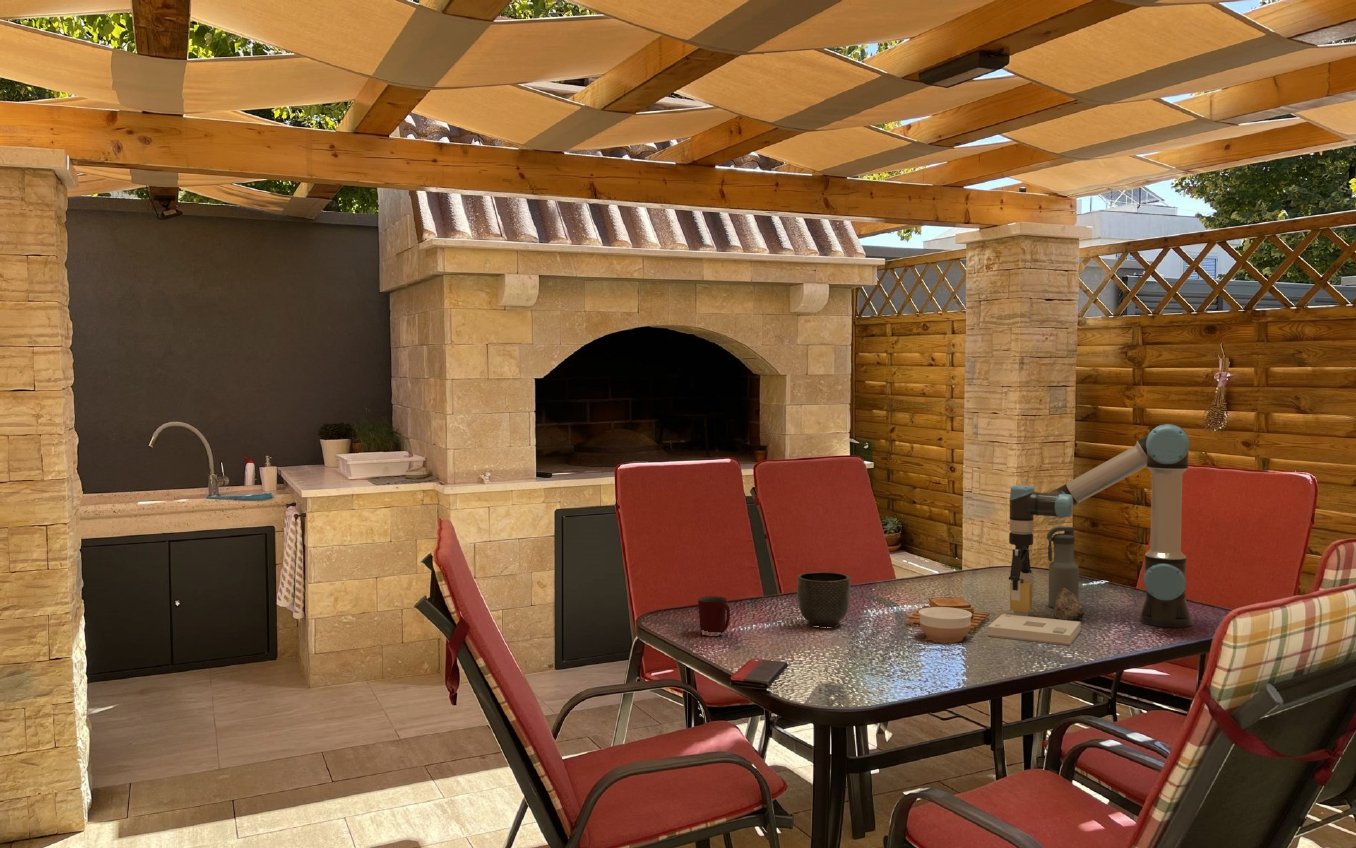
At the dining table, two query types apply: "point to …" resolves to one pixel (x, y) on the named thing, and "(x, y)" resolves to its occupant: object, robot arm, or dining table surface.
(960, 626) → the bowl
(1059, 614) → the rock
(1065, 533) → the water bottle
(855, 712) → the dining table surface
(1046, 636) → the socket plate
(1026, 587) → the plug
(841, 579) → the planter
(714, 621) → the mug
